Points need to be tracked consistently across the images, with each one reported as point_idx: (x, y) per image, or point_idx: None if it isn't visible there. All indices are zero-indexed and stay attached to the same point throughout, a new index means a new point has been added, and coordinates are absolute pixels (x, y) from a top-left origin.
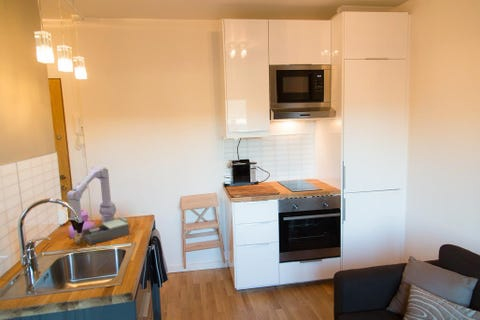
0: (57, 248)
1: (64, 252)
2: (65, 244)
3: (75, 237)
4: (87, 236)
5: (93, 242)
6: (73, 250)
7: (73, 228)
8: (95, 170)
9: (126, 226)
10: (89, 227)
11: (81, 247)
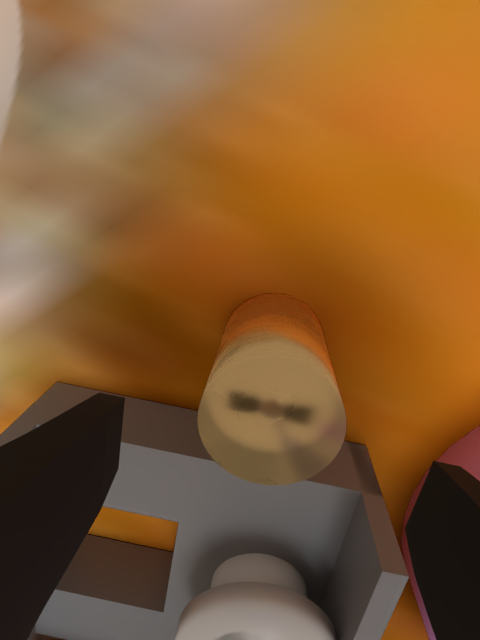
0: (397, 15)
1: (90, 10)
2: (440, 201)
3: (260, 337)
4: (236, 487)
5: None
6: (59, 151)
7: (471, 498)
8: None
9: None
10: None
11: (83, 278)
